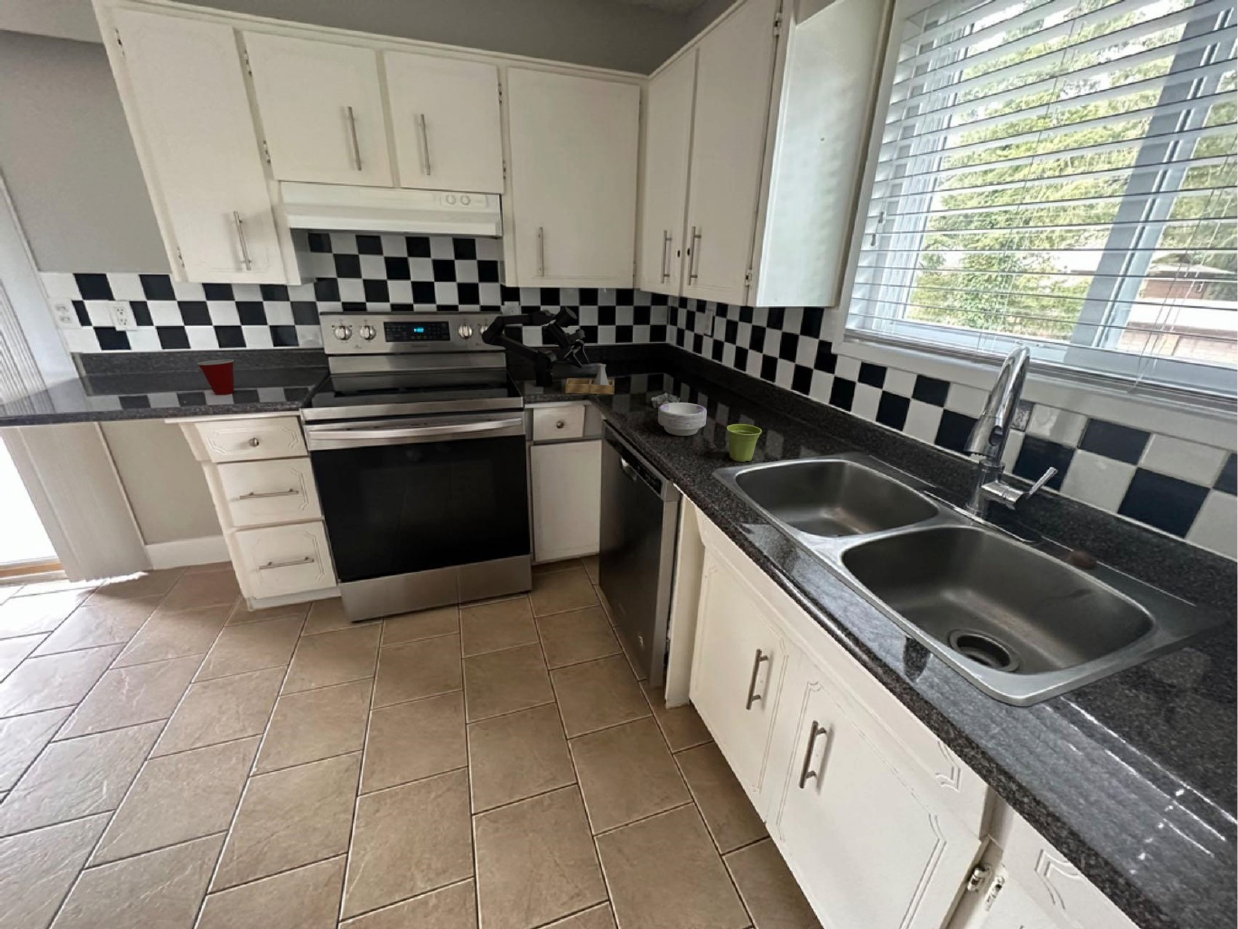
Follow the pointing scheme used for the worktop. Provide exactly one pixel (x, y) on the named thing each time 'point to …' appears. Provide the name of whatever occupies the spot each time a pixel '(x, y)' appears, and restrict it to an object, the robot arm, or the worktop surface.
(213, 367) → the plastic cup
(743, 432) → the plant pot
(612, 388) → the wooden divided tray
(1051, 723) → the worktop surface
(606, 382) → the flask
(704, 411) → the paper bowls
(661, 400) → the egg carton
